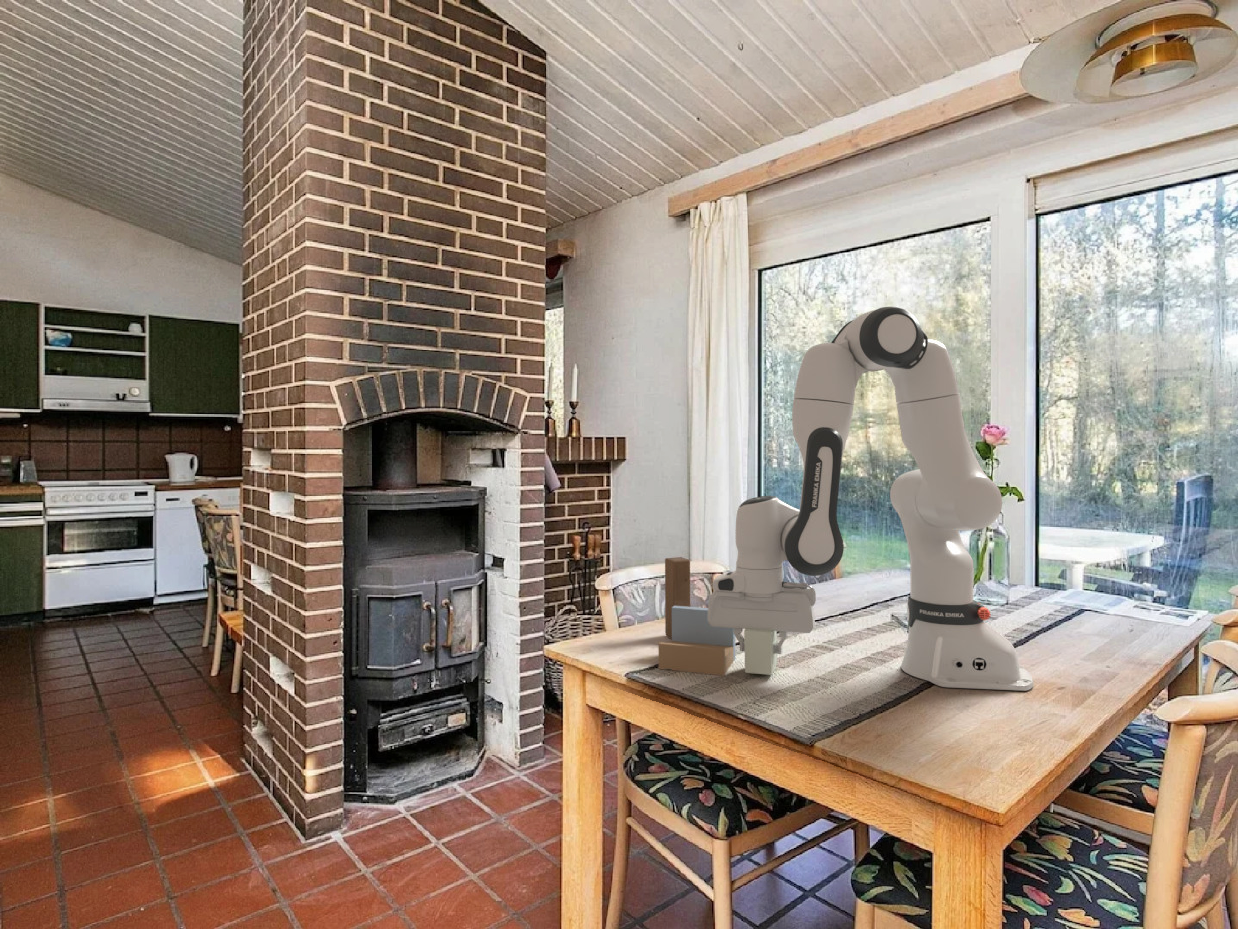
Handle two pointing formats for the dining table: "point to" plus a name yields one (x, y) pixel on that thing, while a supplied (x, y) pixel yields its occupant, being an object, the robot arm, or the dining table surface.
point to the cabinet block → (760, 651)
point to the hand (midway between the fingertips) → (761, 651)
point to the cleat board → (697, 644)
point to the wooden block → (676, 588)
